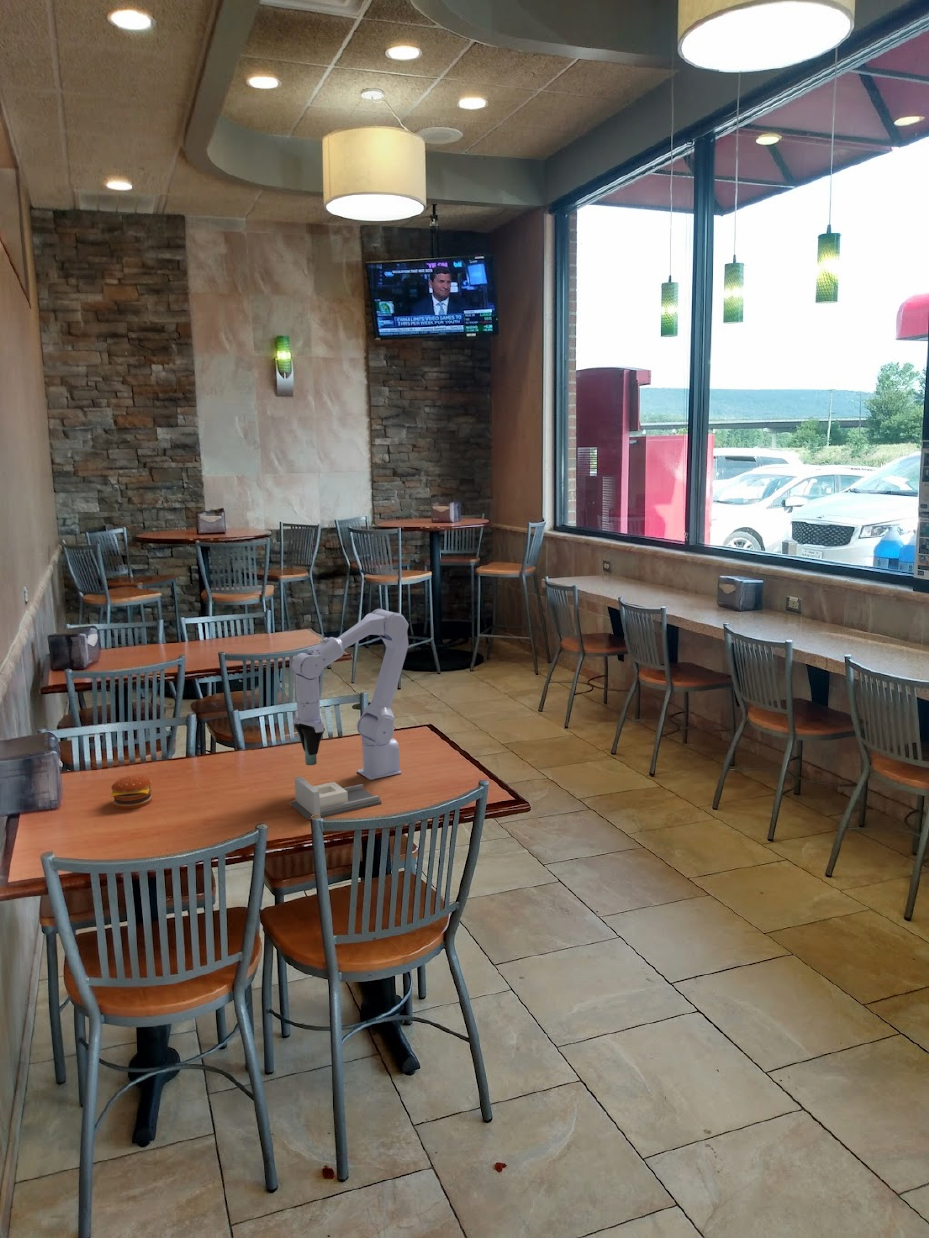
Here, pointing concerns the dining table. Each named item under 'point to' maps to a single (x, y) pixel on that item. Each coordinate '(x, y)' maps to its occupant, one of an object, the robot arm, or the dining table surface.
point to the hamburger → (131, 792)
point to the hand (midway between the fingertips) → (310, 752)
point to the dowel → (309, 756)
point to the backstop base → (310, 806)
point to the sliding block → (331, 794)
